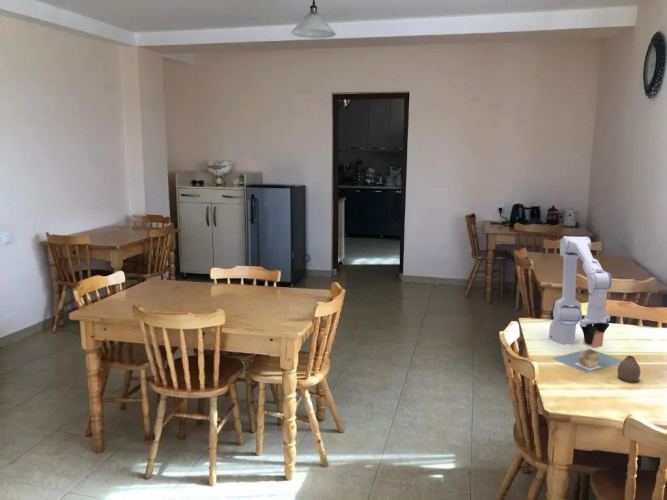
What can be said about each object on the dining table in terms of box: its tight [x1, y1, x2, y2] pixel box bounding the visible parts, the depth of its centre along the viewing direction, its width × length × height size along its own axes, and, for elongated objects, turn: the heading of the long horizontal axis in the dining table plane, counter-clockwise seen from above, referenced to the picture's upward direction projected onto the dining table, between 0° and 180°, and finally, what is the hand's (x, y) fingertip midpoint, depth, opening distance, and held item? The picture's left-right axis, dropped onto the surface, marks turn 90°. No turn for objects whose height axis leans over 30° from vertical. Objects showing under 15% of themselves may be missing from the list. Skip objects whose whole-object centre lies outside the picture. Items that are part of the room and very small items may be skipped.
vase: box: [617, 355, 641, 383], centre depth 193 cm, size 7×7×9 cm
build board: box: [551, 348, 624, 374], centre depth 210 cm, size 15×22×1 cm
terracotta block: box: [582, 330, 605, 349], centre depth 203 cm, size 4×4×5 cm
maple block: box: [579, 348, 599, 368], centre depth 204 cm, size 4×4×5 cm
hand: (592, 342), depth 203 cm, fingers closed on terracotta block, 4 cm apart
